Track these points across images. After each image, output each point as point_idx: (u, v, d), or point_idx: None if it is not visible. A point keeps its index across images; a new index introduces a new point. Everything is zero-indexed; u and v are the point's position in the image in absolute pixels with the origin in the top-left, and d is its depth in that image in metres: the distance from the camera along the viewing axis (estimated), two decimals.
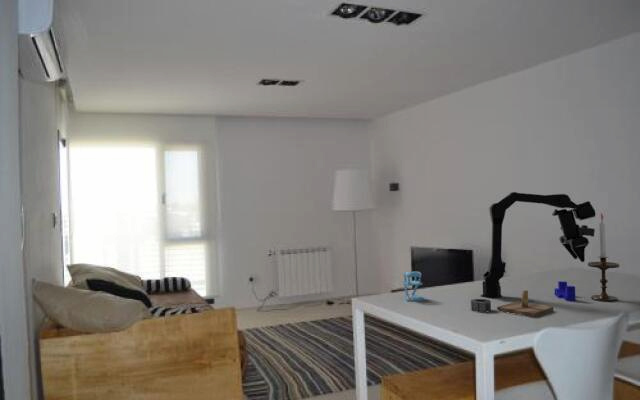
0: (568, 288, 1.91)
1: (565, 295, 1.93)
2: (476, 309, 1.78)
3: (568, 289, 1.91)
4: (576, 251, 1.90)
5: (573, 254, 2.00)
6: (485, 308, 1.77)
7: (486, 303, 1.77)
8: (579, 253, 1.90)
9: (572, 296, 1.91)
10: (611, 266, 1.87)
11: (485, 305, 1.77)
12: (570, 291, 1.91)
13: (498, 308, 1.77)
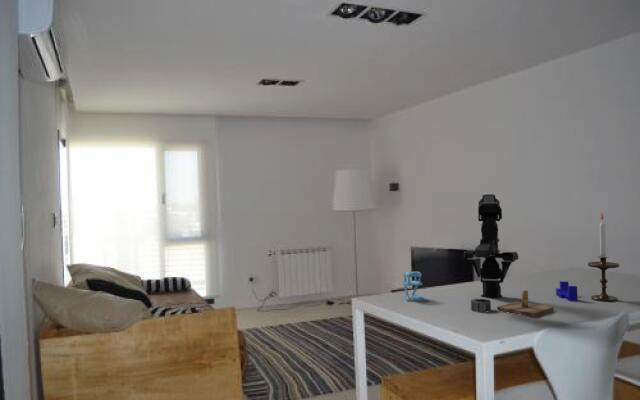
0: (570, 288, 1.91)
1: (567, 295, 1.93)
2: (476, 309, 1.78)
3: (570, 289, 1.91)
4: None
5: None
6: (485, 308, 1.77)
7: (486, 303, 1.77)
8: None
9: (574, 296, 1.91)
10: (611, 266, 1.87)
11: (485, 305, 1.77)
12: (572, 290, 1.91)
13: (498, 308, 1.77)
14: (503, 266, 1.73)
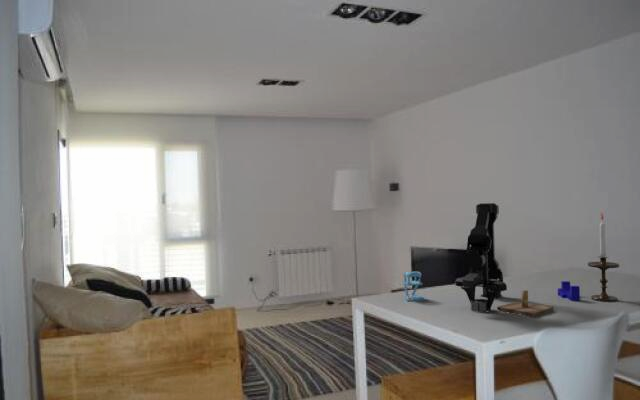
0: (572, 288, 1.91)
1: (569, 295, 1.93)
2: (476, 309, 1.78)
3: (572, 289, 1.91)
4: None
5: None
6: (485, 308, 1.77)
7: (486, 303, 1.77)
8: None
9: (576, 296, 1.91)
10: (611, 266, 1.87)
11: (485, 305, 1.77)
12: (575, 290, 1.91)
13: (498, 308, 1.77)
14: (488, 296, 1.76)
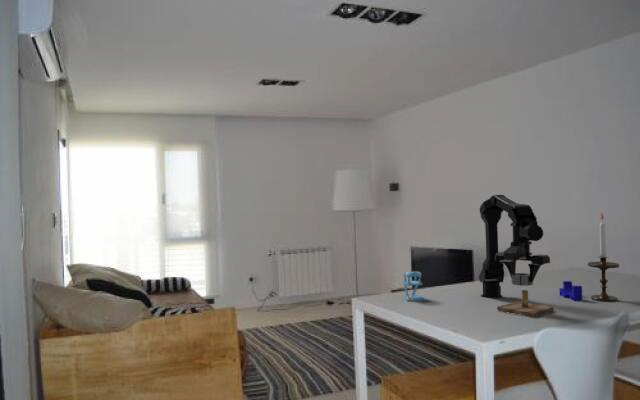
0: (575, 288, 1.91)
1: (572, 295, 1.93)
2: (518, 283, 1.74)
3: (575, 289, 1.91)
4: None
5: None
6: (527, 281, 1.73)
7: (528, 276, 1.73)
8: None
9: (579, 296, 1.91)
10: (611, 266, 1.87)
11: (527, 278, 1.73)
12: (577, 290, 1.91)
13: (498, 308, 1.77)
14: (531, 269, 1.72)
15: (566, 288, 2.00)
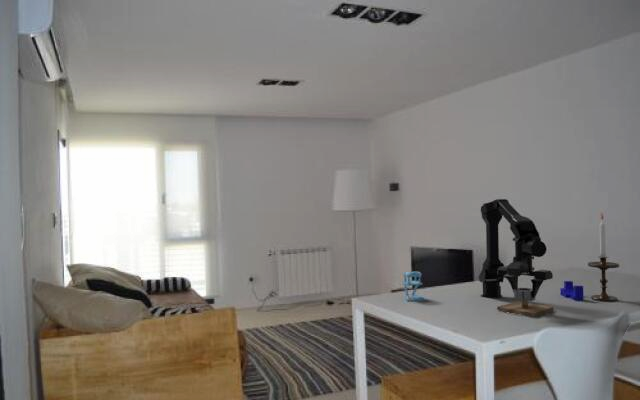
0: (576, 288, 1.91)
1: (573, 295, 1.93)
2: (520, 298, 1.74)
3: (576, 289, 1.91)
4: None
5: None
6: (530, 297, 1.73)
7: (531, 292, 1.73)
8: None
9: (580, 296, 1.91)
10: (611, 266, 1.87)
11: (530, 294, 1.73)
12: (578, 290, 1.91)
13: (498, 308, 1.77)
14: (533, 284, 1.72)
15: (567, 288, 2.00)
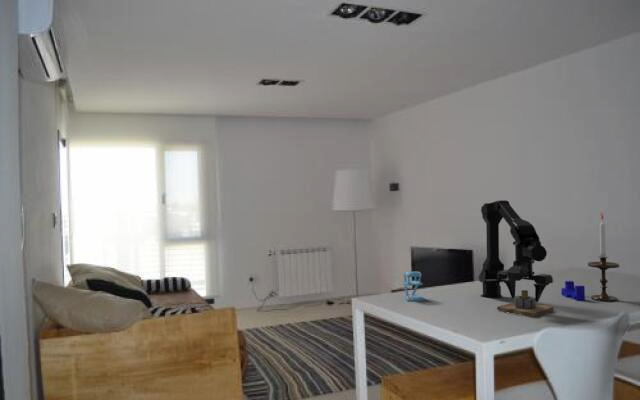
0: (578, 288, 1.91)
1: (574, 295, 1.93)
2: (521, 306, 1.74)
3: (578, 289, 1.91)
4: None
5: None
6: (530, 305, 1.73)
7: (531, 300, 1.73)
8: None
9: (581, 296, 1.91)
10: (611, 266, 1.87)
11: (530, 302, 1.73)
12: (580, 290, 1.91)
13: (498, 308, 1.77)
14: (536, 289, 1.71)
15: (568, 288, 2.00)
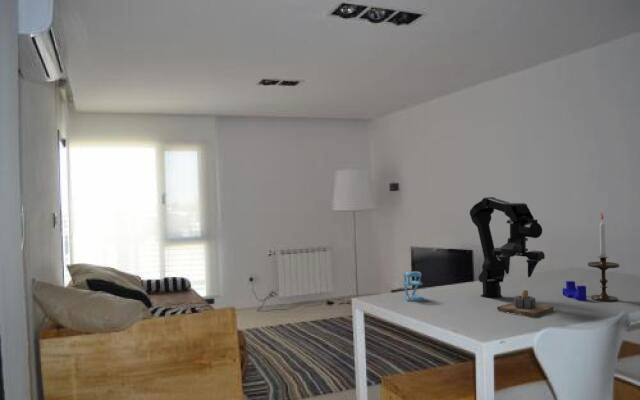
0: (579, 288, 1.91)
1: (576, 295, 1.93)
2: (521, 306, 1.74)
3: (579, 289, 1.91)
4: None
5: None
6: (530, 305, 1.73)
7: (531, 300, 1.73)
8: None
9: (583, 296, 1.91)
10: (611, 266, 1.87)
11: (530, 302, 1.73)
12: (581, 290, 1.91)
13: (498, 308, 1.77)
14: (529, 265, 1.81)
15: (569, 288, 2.00)
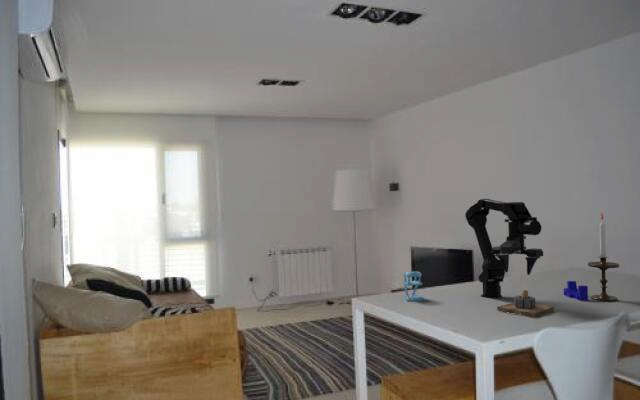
0: (581, 288, 1.91)
1: (577, 295, 1.93)
2: (521, 306, 1.74)
3: (581, 289, 1.91)
4: None
5: None
6: (530, 305, 1.73)
7: (531, 300, 1.73)
8: None
9: (585, 296, 1.91)
10: (611, 266, 1.87)
11: (530, 302, 1.73)
12: (583, 290, 1.91)
13: (498, 308, 1.77)
14: (528, 262, 1.83)
15: (570, 288, 2.01)
